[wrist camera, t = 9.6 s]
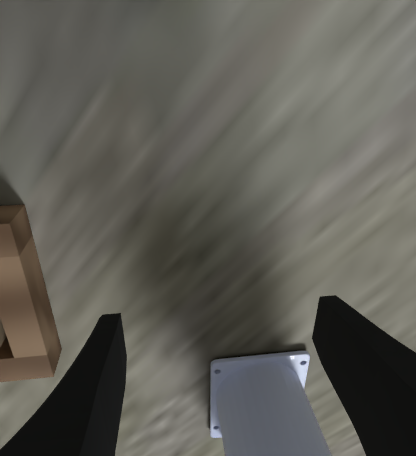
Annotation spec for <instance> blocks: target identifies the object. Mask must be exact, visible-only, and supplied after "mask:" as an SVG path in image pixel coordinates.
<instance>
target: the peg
mask: <svg viewBox="0 0 416 456" xmlns="http://www.w3.org/2000/svg"><path fill="white" fill-rule="evenodd" d="M5 337H6V333H5V330H4V327H3V324H2V322H1V319H0V347H1V345H2V343H3V341H4V339H5Z"/></svg>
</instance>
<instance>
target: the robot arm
mask: <svg viewBox="0 0 416 456" xmlns="http://www.w3.org/2000/svg"><path fill="white" fill-rule="evenodd" d="M312 339H313V342H314V345H315V348H316V351H317V353H318V356H319V359H320V361H321V364H322V366H323V368H324V370H325V372H326V374H327V376H328V378H329V379H330V381H331V383H332V385H333V387H334V389H335V391H336V393H337V395H338V397H339V399H340V400H341V402H342V404H343V406H344V408H345V410H346V412H347V414H348V416H349V418H350V419H351V421H352V424H353V426H354V428H355V430H356V432H357V434H358V436H359V439H360V441H361V444H362V446H363V449H364V451H365V454H366V456H416V353H415V352H414V351H412V350H411V349H409V348H408V347H406V346H405V345H403V344H402V343H400V342H398V341H397V340H396V339H394V338H393V337H391V336H390V335H388V334H387V333H386V332H384V331H383V330H381V329H380V328H379V327H377V326H376V325H375V324H373V323H372V322H370V321H369V320H368V319H366V318H365V317H364V316H363V315H361V314H360V313H359V312H357V311H356V310H355V309H353V308H352V307H351V306H349V305H348V304H347V303H345V302H344V301H343V300H341V299H340V298H339V297H337V296H336V295H335V296H323V297H320V298H319V303H318V309H317V314H316V320H315V325H314V331H313V336H312ZM309 360H310V355H309V353H308V352H307V351H294V352H284V353H274V354H264V355H254V356H244V357H234V358H224V359H216V360H213V361H212V362H211V374H210V435H211V437H213V438H219V437H222V440H223V446H224V452H225V456H332V455H331V452H330V450H329V447H328V445H327V443H326V440H325V438H324V436H323V433H322V431H321V428H320V426H319V424H318V421H317V419H316V417H315V414H314V412H313V409H312V407H311V405H310V402H309V400H308V398H307V395H306V393H305V390H304V386H305V381H306V376H307V370H308V365H309ZM126 361H127V354H126V348H125V341H124V334H123V327H122V320H121V313H117V314H105V315H102V316H101V317H100V318H99V320H98V322H97V324H96V326H95V328H94V330H93V331H92V333H91V335H90V337H89V338H88V340H87V342H86V343H85V345H84V347H83V348H82V350H81V351H80V353H79V355H78V356H77V358H76V359H75V361H74V362H73V364H72V365H71V367H70V368H69V370H68V371H67V372H66V374H65V375H64V377H63V378H62V379H61V381H60V382H59V384H58V385H57V386H56V388H55V389H54V390H53V391H52V393H51V394H50V395H49V397H48V398H47V399H46V400H45V402H44V403H43V404H42V405H41V406H40V408H39V409H38V410H37V411H36V412H35V413H34V415H33V416H32V417H31V418H30V419H29V420H28V421H27V422H26V423H25V424H24V426H23V427H22V428H21V429H20V430H19V431H18V432H17V433H16V434H15V435H14V436H13V437H12V438H11V439H10V440H9V441H8V442H7V443H6V444H5V445H4V446H3V447H2V448H1V449H0V456H115V449H116V443H117V436H118V430H119V424H120V417H121V411H122V404H123V398H124V391H125V384H126ZM217 369H218V370H217Z"/></svg>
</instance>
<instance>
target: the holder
mask: <svg viewBox="0 0 416 456" xmlns="http://www.w3.org/2000/svg"><path fill="white" fill-rule="evenodd" d="M0 319H1V322H2V324H3V327H4V330H5V333H6V337H5V339H4V341H3V343H2V345H1V347H0V382H6V381H16V380H26V379H36V378H46V377H54V373H55V370H56V367H57V363H58V360H59V357H60V353H61V350H62V348H61V345H60V341H59V337H58V333H57V329H56V325H55V321H54V317H53V313H52V310H51V306H50V302H49V298H48V294H47V290H46V286H45V282H44V278H43V274H42V271H41V267H40V263H39V259H38V255H37V251H36V247H35V243H34V239H33V236H32V232H31V228H30V224H29V220H28V216H27V212H26V208H25V205H5V206H0Z"/></svg>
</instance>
